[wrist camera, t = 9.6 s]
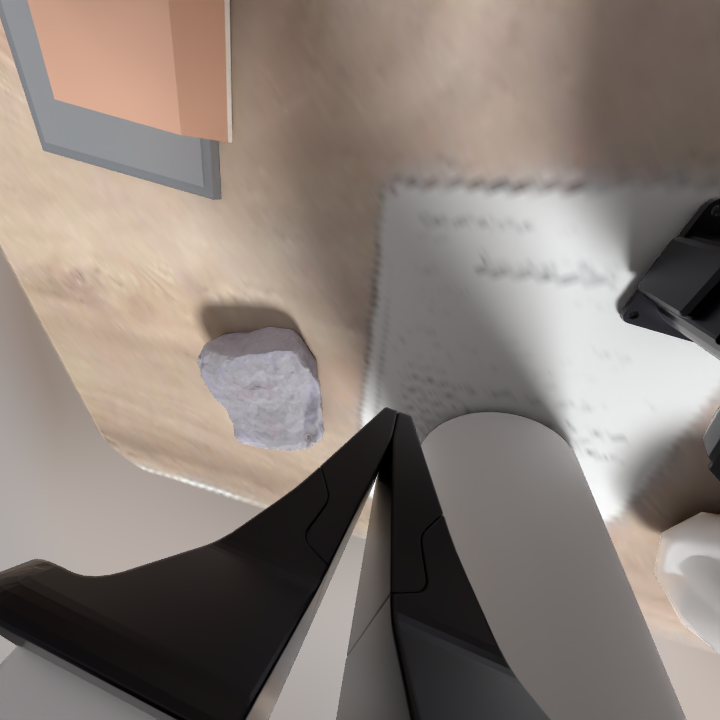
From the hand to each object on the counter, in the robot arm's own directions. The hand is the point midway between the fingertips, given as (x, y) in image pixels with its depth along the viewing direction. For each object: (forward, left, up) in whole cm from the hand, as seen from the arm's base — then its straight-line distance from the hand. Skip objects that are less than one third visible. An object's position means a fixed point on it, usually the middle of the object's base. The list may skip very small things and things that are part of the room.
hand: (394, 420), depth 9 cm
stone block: (+10, +13, -14) cm, 21 cm away
